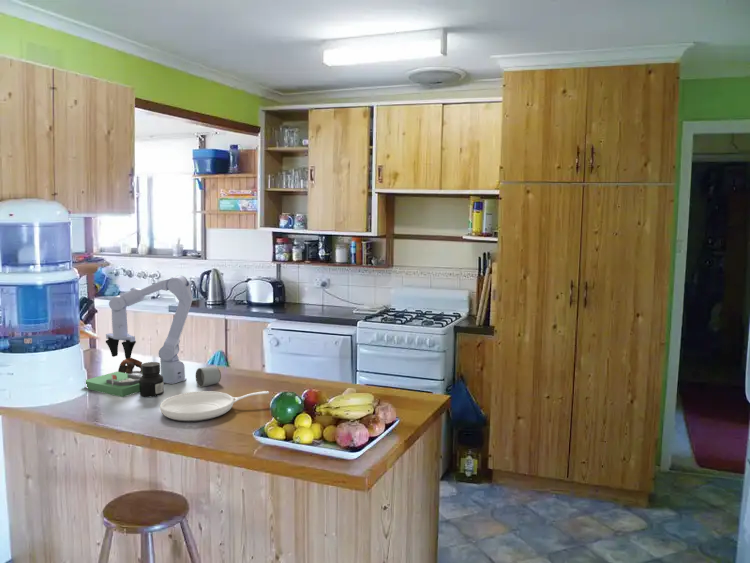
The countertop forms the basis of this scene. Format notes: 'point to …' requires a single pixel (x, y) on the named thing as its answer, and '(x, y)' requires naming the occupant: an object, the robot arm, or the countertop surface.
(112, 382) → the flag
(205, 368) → the ceramic mug
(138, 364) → the pottery mug
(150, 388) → the ink bottle
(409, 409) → the countertop surface
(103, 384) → the mat
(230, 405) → the pan
